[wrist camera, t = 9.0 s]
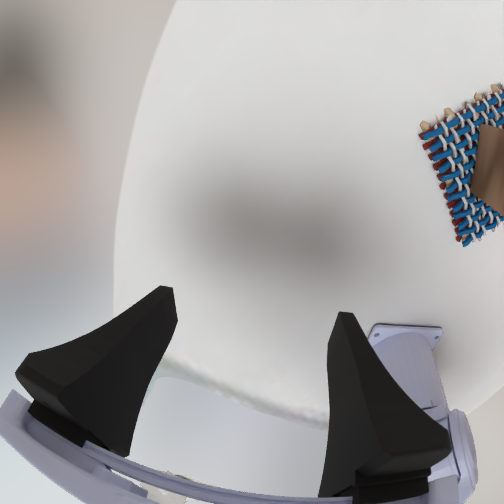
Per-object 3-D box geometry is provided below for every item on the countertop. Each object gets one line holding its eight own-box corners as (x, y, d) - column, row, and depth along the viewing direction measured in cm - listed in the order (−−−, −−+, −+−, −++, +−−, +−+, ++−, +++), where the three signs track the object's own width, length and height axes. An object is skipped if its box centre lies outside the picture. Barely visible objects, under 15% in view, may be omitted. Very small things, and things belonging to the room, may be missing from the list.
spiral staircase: (184, 465, 75) (179, 476, 87) (136, 466, 68) (139, 477, 80) (195, 508, 60) (188, 511, 72) (144, 511, 53) (147, 513, 65)
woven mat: (532, 189, 14) (545, 198, 12) (454, 242, 18) (464, 255, 17) (500, 77, 11) (514, 78, 9) (408, 125, 15) (420, 128, 13)
